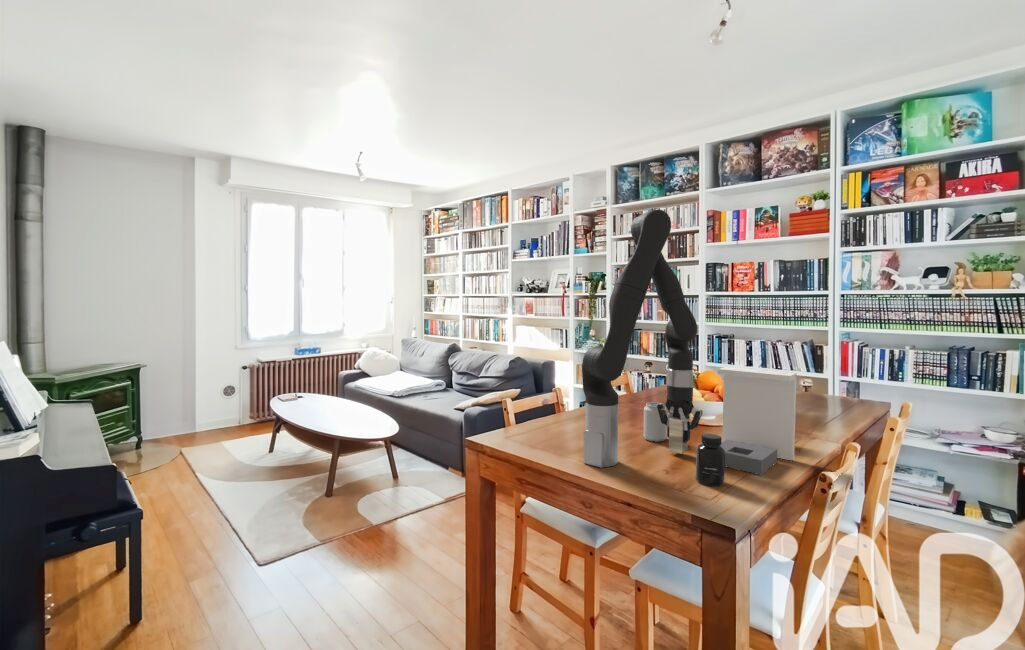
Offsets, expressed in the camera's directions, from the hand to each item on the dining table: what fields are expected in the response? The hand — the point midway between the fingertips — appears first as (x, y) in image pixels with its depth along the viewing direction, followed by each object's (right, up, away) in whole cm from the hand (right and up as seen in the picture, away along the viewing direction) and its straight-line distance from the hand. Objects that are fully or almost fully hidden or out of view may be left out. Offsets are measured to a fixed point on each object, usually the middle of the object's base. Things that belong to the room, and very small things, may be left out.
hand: (678, 440), depth 150 cm
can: (-2, -4, +17) cm, 17 cm away
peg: (0, -3, 0) cm, 3 cm away
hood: (+22, -4, -1) cm, 23 cm away
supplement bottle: (+1, -6, -22) cm, 23 cm away
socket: (+16, -5, -8) cm, 18 cm away
